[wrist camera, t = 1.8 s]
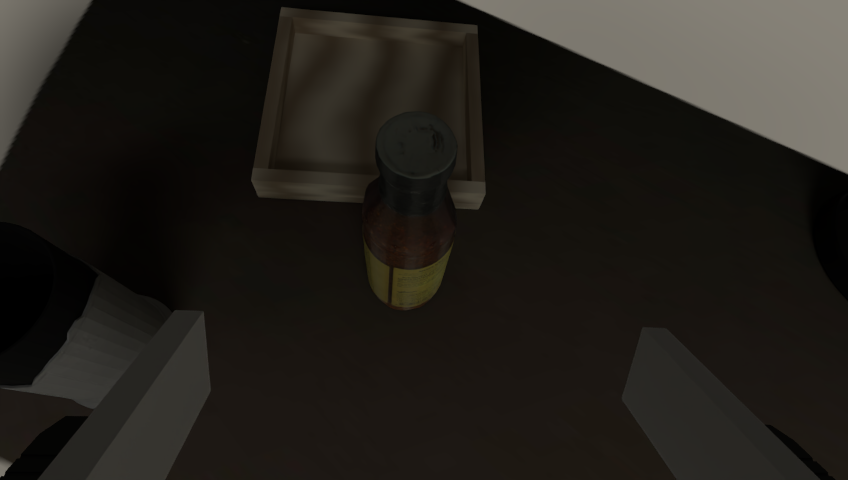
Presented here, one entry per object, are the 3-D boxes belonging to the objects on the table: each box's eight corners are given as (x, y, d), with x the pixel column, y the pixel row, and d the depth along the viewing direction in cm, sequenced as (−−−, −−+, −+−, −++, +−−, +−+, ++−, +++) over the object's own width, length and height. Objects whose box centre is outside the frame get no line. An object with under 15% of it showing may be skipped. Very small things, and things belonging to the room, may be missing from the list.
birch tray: (471, 47, 52) (477, 25, 50) (478, 209, 44) (485, 193, 42) (286, 31, 50) (281, 7, 48) (258, 197, 42) (251, 180, 40)
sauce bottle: (450, 263, 42) (512, 125, 24) (420, 326, 39) (464, 225, 21) (383, 232, 42) (394, 74, 24) (350, 292, 40) (334, 166, 22)
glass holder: (145, 425, 34) (-4, 413, 21) (-39, 367, 35) (-306, 317, 21) (201, 313, 38) (106, 239, 24) (34, 260, 38) (-154, 158, 25)
